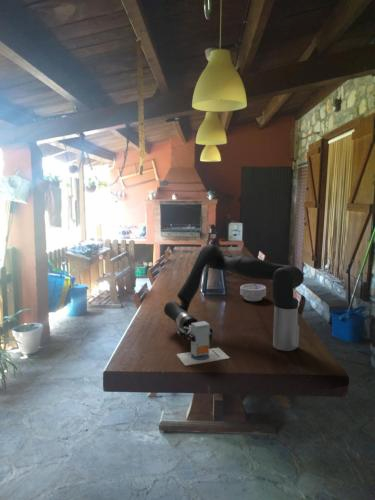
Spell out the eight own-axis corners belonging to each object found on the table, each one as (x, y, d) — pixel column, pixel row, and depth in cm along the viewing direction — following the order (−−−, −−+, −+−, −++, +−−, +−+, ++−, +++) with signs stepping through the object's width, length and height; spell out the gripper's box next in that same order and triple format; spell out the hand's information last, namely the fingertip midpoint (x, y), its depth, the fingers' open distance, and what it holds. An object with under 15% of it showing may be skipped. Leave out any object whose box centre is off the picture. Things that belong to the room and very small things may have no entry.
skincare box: (195, 357, 137) (195, 326, 135) (190, 352, 141) (190, 322, 139) (209, 354, 140) (210, 324, 138) (204, 349, 144) (205, 320, 142)
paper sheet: (218, 348, 149) (218, 347, 149) (229, 358, 139) (229, 357, 139) (176, 354, 143) (176, 353, 142) (185, 365, 133) (185, 364, 133)
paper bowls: (234, 299, 219) (235, 286, 218) (250, 294, 229) (250, 282, 228) (255, 304, 208) (255, 291, 206) (271, 299, 218) (271, 286, 217)
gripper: (170, 316, 150) (184, 331, 134) (203, 312, 155) (220, 326, 139) (171, 334, 151) (184, 350, 135) (203, 329, 156) (220, 345, 140)
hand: (202, 338), depth 137 cm, fingers closed on skincare box, 6 cm apart
